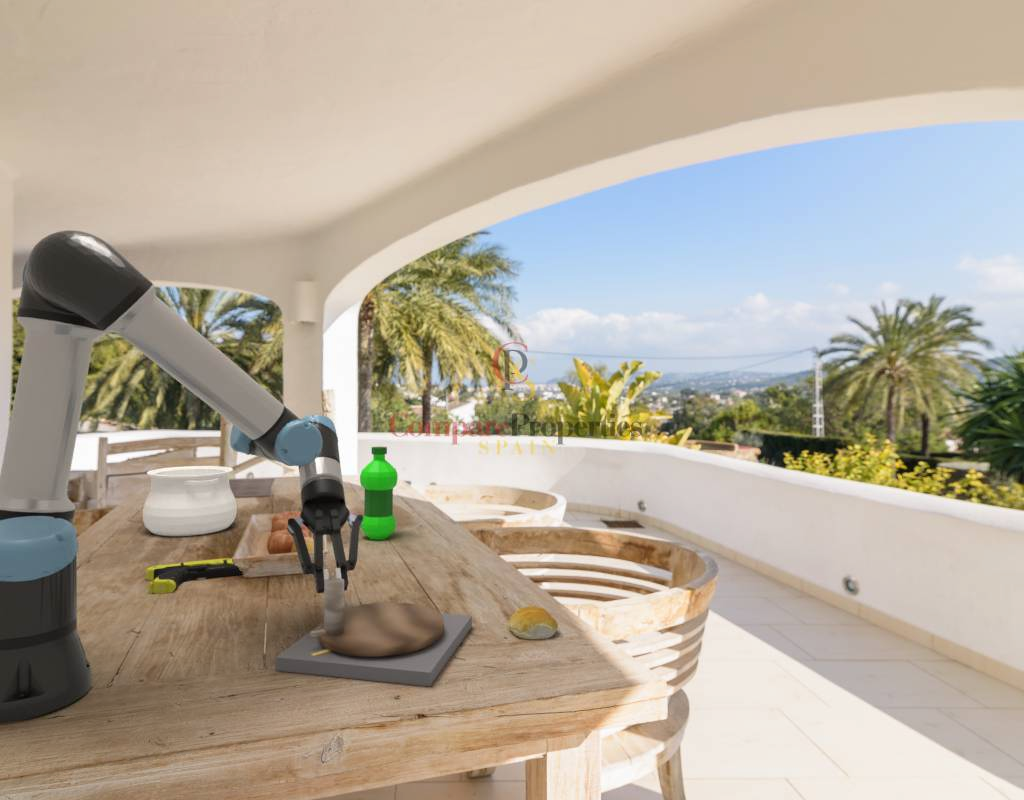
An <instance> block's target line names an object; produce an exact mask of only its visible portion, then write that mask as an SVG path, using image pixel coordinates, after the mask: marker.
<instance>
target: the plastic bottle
mask: <svg viewBox="0 0 1024 800" xmlns="http://www.w3.org/2000/svg"><path fill="white" fill-rule="evenodd" d="M387 453H388V447H387V446H372V447H371V455H373V459H372V460H371V461H370V462H369V463H367V464H366V465H365V467H363V469H362V470H361V472H360V474H359V483H360V486H361V487H362V488H363V489H364V510H363V511H364V512H363V513H364V515H362V516H363V521H362V525H361V527H360V529H361V532H363V534H364V536H366V537H367V538H368V539H370V540H375V541H376V540H377V541H378V540H386V539H388V537H390V536H391V535H392V534H393V533H394V532H395V529H396V528H397V527H396V526H397V520H396V517H395V514H394V511H393V509H394V507H393V504H394V488H395V487H396V486H397V484H398V471H397V468H395V467H394V466H393V465H392V464H391V463H390V462H389V461H387V460H386V455H388V454H387Z"/></svg>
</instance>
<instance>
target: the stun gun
mask: <svg viewBox="0 0 1024 800" xmlns="http://www.w3.org/2000/svg"><path fill="white" fill-rule="evenodd" d="M242 575H243V570H242V571H240V570H239V568H238V567H237V566H235V565H234V564H233V562H232V557H227V558H226V557H225V558H216V559H206V560H196V561H195V560H193V561H186V562H179V563H168V564H159V565H157V564H156V565H153V566H150V567H147V568H146V571H145V579H146V581H151V582H150V583H149V584H148V593H149V595H151V594H154V595H155V594H167V593H168V594H173V592H174V591H175V590H176V589H177V588H178V586H179V585H180V584H181V583H182V582H183V583H184V582H186V581H189V580H194V579H217V578H225V577H235V576H236V577H237V576H242Z"/></svg>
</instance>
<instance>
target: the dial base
mask: <svg viewBox="0 0 1024 800" xmlns="http://www.w3.org/2000/svg"><path fill="white" fill-rule="evenodd" d="M353 606H354V605H349V604H347V605H346V604H344V609H346V608H349V607H353ZM439 613H440V614H441V615H442V616H443V618H444V633H443V635H442V637H441V638H440V639H439V640H438V641H436V642H435V643H433V644H431V645H429V646H427V647H425V648H422V649H419V650H416V651H413V652H409V653H404V654H399V655H391V656H377V657H366V656H353V655H346V654H342V653H338V652H335V651H332V650H330V649H328V648H326V647H324V646H323V645H322V644H321V643H320V641H319V636H314V637H312V636H311V631H316V630H319V624H318V625H317V626H316V627H314V628H313V629H311V630H310V631H309V632H307V633H306V634H305V635H304V636H302V637H300V638H299V639H298V640H297V641H295V642H294V643H293V644H292V645H290V646H288V647H287V648H286V649H285V650H283V651H282V652H280V653H279V654H278V655H277V656H275V671H277V672H286V673H287V672H288V673H296V674H304V675H314V676H325V677H334V678H335V677H336V678H343V679H353V680H354V679H355V680H361V681H362V680H363V681H373V682H384V683H392V684H401V685H403V684H404V685H412V686H420V687H431V686H432V685H433V684H434V681H435V680H436V679H437V677H438V676H439V674H440V673H441V671H443V669H444V667H445V666H446V664H447V663H448V662H449V660H450V659H451V657H452V656H453V654H454V653H455V652H456V650H457V649H458V648H459V646H461V643H462V642H463V641H464V639H465V638H466V636H467V635H468V633H469V632H470V630H471V629H472V628H473V615H470V614H469V615H468V614H467V615H466V614H457V613H456V614H455V613H446V612H444V613H443V612H439Z"/></svg>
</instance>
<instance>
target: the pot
mask: <svg viewBox="0 0 1024 800" xmlns="http://www.w3.org/2000/svg"><path fill="white" fill-rule="evenodd" d="M233 472H234V468H233V467H229V466H220V465H187V466H184V465H183V466H174V467H173V466H172V467H163V468H162V467H161V468H158V469H157V468H156V469H152V470H148V471H147V472H146V475H147V476H149V477H150V491H149V492H148V494H147V498H146V499H145V503H143V510H142V522H143V524H144V527H145V528H146V529H147V530H148V531H149V532H150V533H152V534H153V535H157V536H162V537H163V536H165V537H190V536H191V537H194V536H201V535H207V534H213V533H217V532H218V533H219V532H221V531H223V530H226V529H228V528H229V527H230V526H231V525H232V524H233V522H234V521H235V519H236V516H237V511H238V509H237V507H238V506H237V500H236V497H235V495H234V493H233V491H232V488H231V486H230V485H231V484H230V474H231V473H233Z"/></svg>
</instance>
